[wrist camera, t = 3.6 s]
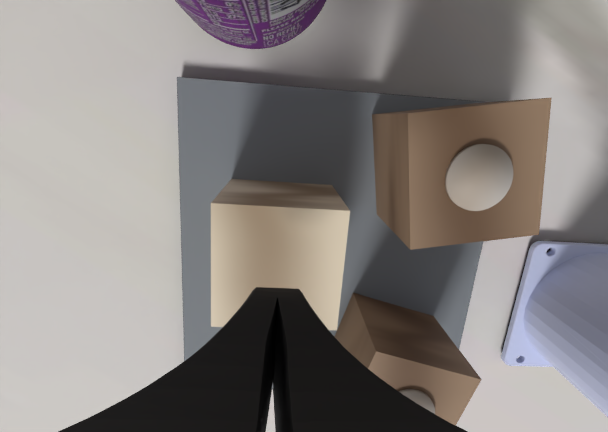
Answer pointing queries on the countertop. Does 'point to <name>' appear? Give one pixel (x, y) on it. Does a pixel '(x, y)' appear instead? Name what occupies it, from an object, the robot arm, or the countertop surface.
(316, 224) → the maple block
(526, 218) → the walnut block
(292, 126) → the slate mat
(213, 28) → the beverage can
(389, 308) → the walnut block
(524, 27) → the countertop surface
